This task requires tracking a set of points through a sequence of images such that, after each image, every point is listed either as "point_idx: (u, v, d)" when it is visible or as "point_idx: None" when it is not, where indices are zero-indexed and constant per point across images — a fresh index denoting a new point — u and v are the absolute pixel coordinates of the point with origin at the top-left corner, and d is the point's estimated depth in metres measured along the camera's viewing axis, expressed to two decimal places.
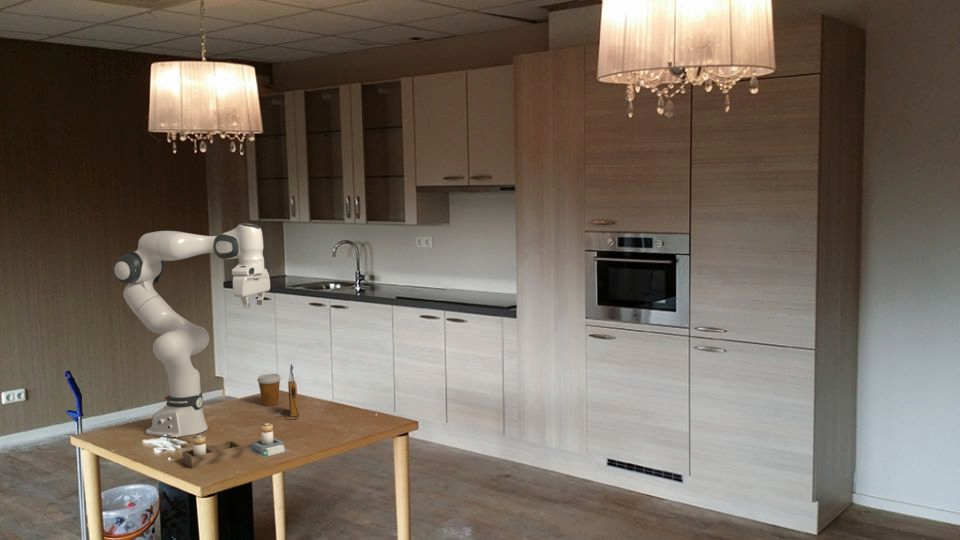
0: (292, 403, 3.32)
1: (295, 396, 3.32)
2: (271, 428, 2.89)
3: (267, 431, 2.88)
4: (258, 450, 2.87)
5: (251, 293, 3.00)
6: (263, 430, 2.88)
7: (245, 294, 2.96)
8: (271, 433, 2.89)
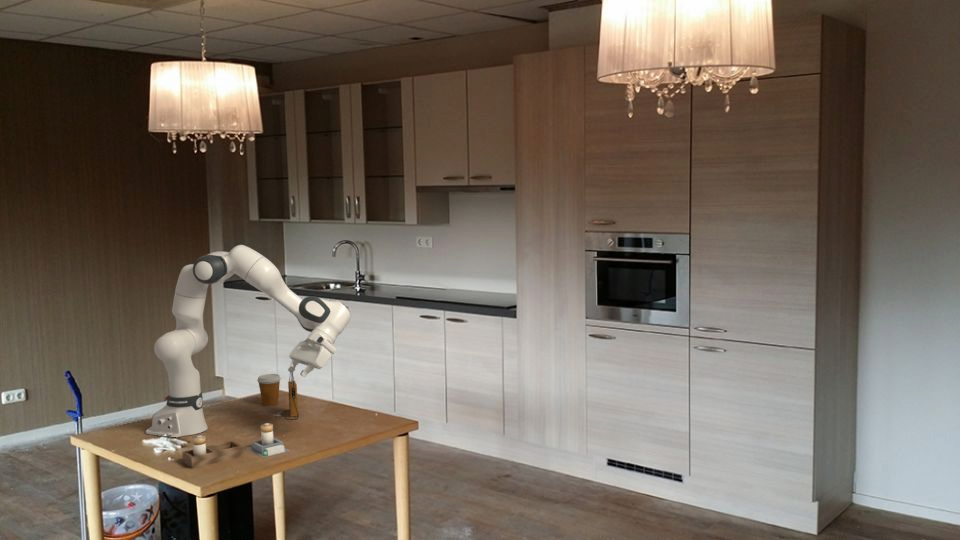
0: (292, 403, 3.32)
1: (295, 396, 3.32)
2: (271, 428, 2.89)
3: (267, 431, 2.88)
4: (258, 450, 2.87)
5: None
6: (263, 430, 2.88)
7: None
8: (271, 433, 2.89)
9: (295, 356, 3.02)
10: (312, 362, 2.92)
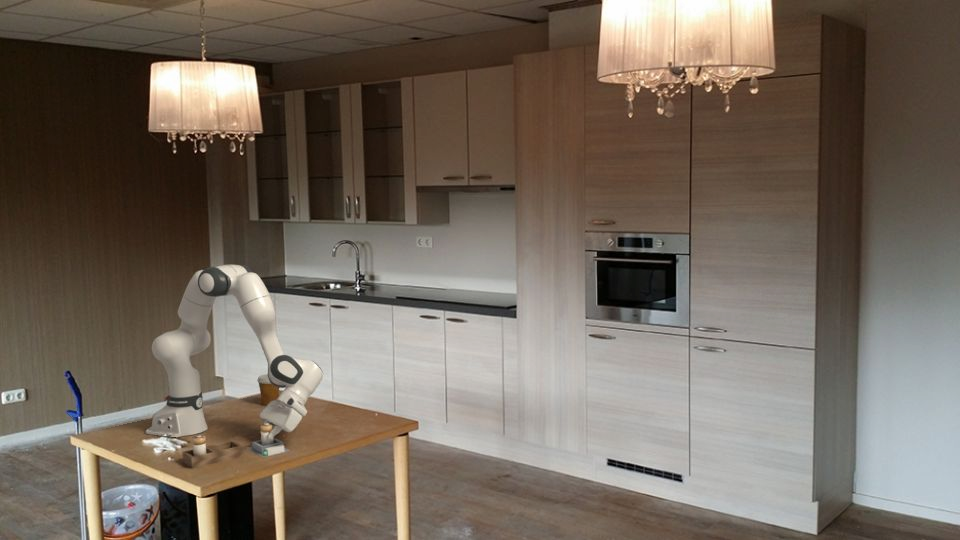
0: None
1: None
2: (271, 428, 2.89)
3: (267, 431, 2.88)
4: (258, 450, 2.87)
5: None
6: (263, 430, 2.88)
7: None
8: None
9: (265, 417, 2.94)
10: (282, 425, 2.84)
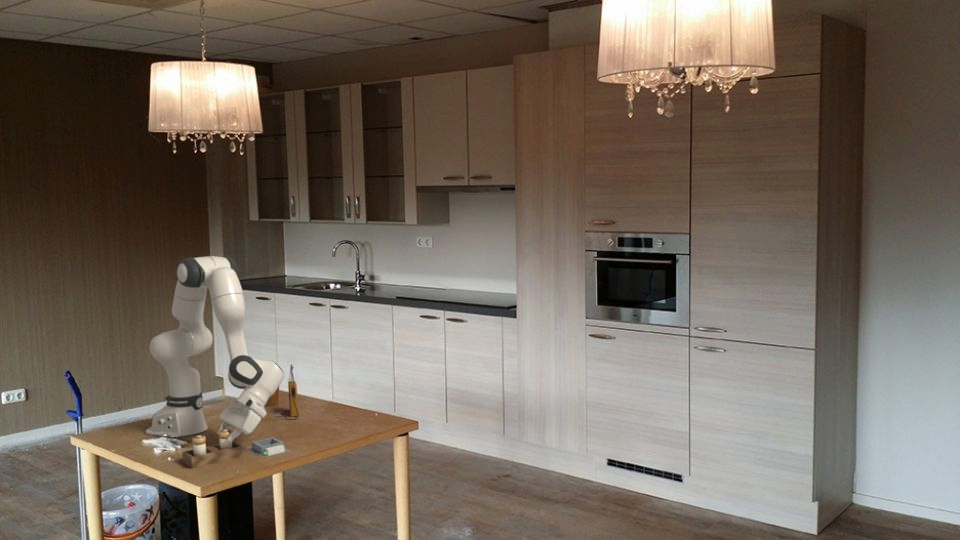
0: (292, 403, 3.32)
1: (295, 396, 3.32)
2: None
3: None
4: (258, 450, 2.87)
5: None
6: (221, 436, 2.82)
7: None
8: None
9: (224, 418, 2.88)
10: (239, 427, 2.78)
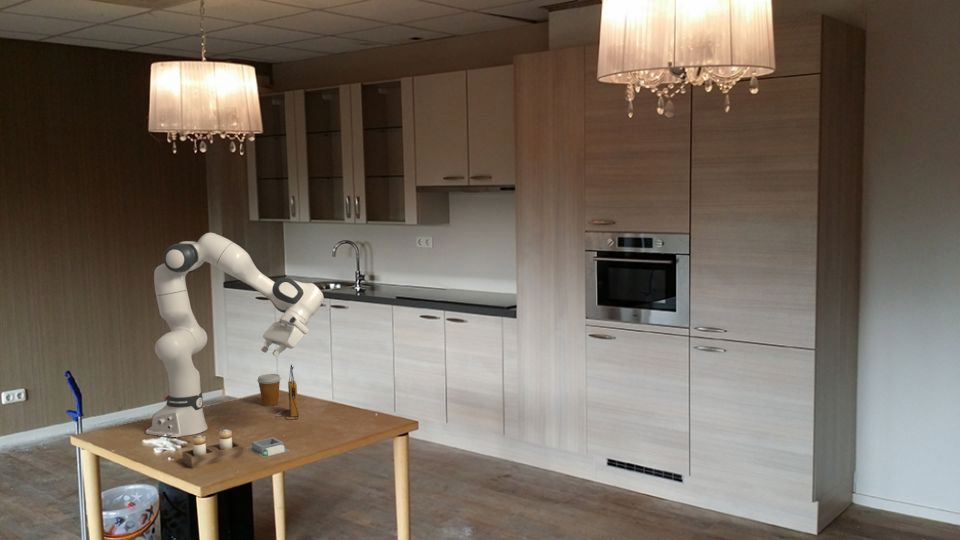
0: (292, 403, 3.32)
1: (295, 396, 3.32)
2: (230, 434, 2.83)
3: (226, 438, 2.82)
4: (258, 450, 2.87)
5: None
6: (221, 437, 2.82)
7: None
8: (230, 440, 2.83)
9: (268, 336, 3.08)
10: (284, 342, 2.97)
